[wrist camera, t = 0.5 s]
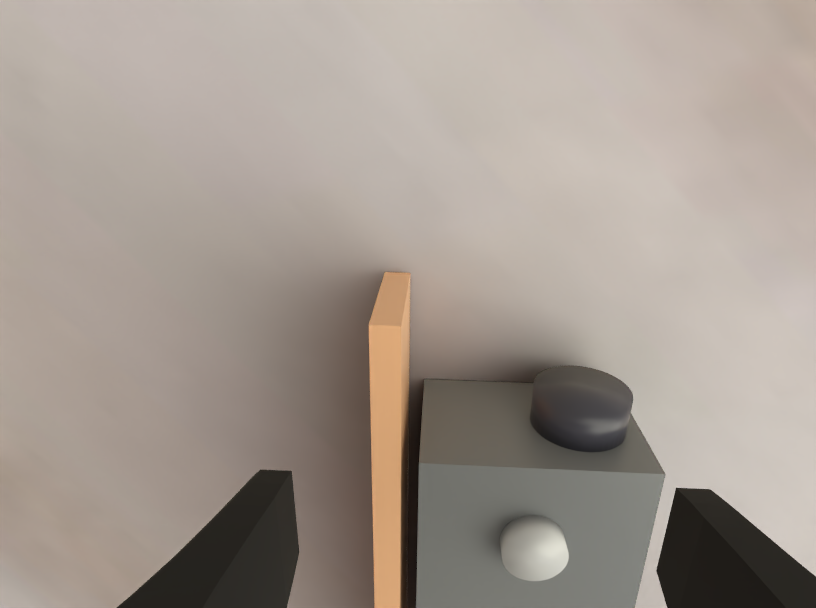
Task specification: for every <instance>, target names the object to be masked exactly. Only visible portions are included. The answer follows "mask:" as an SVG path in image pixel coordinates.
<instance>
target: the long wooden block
mask: <svg viewBox="0 0 816 608" xmlns="http://www.w3.org/2000/svg"><path fill="white" fill-rule="evenodd" d="M409 357H410V273H397V272H385V273H384V276H383V280H382V283H381V286H380V290H379V293H378V296H377V299H376V303H375V306H374V309H373V312H372V316H371V319H370V322H369V365H370V412H371V460H372V507H373V555H374V602H375V608H407V552H408V454H409Z"/></svg>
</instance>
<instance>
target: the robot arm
mask: <svg viewBox="0 0 816 608" xmlns="http://www.w3.org/2000/svg"><path fill="white" fill-rule="evenodd" d="M298 555H299V545H298V534H297V523H296V513H295V502H294V491H293V481H292V471H278V470H260V471H259V472H257V473H256V474H255V475H254V476H253V477H252V478H251V479H250V480H249V481H248V482H247V483H246V484H245V486H244V487H243V488H242V489H241V490H240V491H239V492H238V493H237V494H236V495H235V496H234V497H233V498H232V499H231V500H230V501H229V502H228V503H227V504H226V505H225V506H224V508H223V509H222V510H221V511H220V512H219V513H218V514H217V515H216V516H215V517H214V518H213V519H212V520H211V521H210V522H209V523H208V524H207V525H206V526H205V527H204V528H203V529H202V530H201V531H200V532H199V533H198V534H197V535H196V536H195V537H194V538H193V539H192V540H191V541H190V542H189V543H188V544H187V545H186V546H185V547H184V548H183V549H182V550H181V551H179V552H178V553H177V554H176V555H175V556H174V557H173V558H172V559H171V560H170V561H169V562H168V563H167V564H166V565H164V566H163V567H162V568H161V569H160V570H159V571H158V572H157V573H156V574H155V575H153V576H152V577H151V578H150V579H149V580H148V581H147V582H146V583H145V584H143V585H142V586H141V587H140V588H139V589H138V590H137V591H136V592H135V593H133V594H132V595H131V596H130V597H129V598H128V599H127V600H125V601H124V602H123V603H122V604H121V605H119V606H118V607H117V608H287V604H288V600H289V596H290V591H291V587H292V583H293V578H294V574H295V569H296V564H297V560H298ZM657 574H658V577H659V581H660V584H661V588H662V591H663V594H664V598H665V601H666V605H667V608H816V577H815V576H814V575H813V574H812V573H811V572H809V571H808V570H807V569H806V568H804V567H803V566H802V565H801V564H800V563H798V562H797V561H796V560H795V559H794V558H792V557H791V556H790V555H789V554H787V553H786V552H785V551H784V550H783V549H781V548H780V547H779V546H778V545H777V544H776V543H774V542H773V541H772V540H771V539H770V538H768V537H767V536H766V535H765V534H764V533H763V532H761V531H760V530H759V529H758V528H757V527H755V526H754V525H753V524H752V523H751V522H749V521H748V520H747V519H746V518H745V517H744V516H742V515H741V514H740V513H739V512H738V511H736V510H735V509H734V508H733V507H732V506H730V505H729V504H728V503H727V502H725V501H724V500H723V499H722V498H721V497H719V496H718V495H717V494H715V493H714V492H713V491H712V490H710V489H688V488H676V491H675V495H674V499H673V504H672V508H671V512H670V516H669V520H668V525H667V529H666V533H665V537H664V541H663V546H662V550H661V554H660V558H659V562H658V566H657Z"/></svg>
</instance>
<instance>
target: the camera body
mask: <svg viewBox="0 0 816 608" xmlns="http://www.w3.org/2000/svg"><path fill="white" fill-rule="evenodd" d="M632 403H633V394H632V392H631V390H630V389H629V387H628V386H627V385H626V384H624V383H623V382H622V381H621V380H619V379H618V378H616V377H614V376H612V375H610V374H608V373H605V372H602V371H599V370H596V369H592V368H587V367H580V366H558V367H552V368H549V369H546V370H544V371H542V372H540V373H539V374H538V375H537V376H536V377H535V379H534V383H518V382H491V381H465V380H438V379H424V392H423V407H422V423H421V439H420V455H419V487H418V539H417V591H416V608H635V604H636V599H637V595H638V591H639V586H640V582H641V578H642V573H643V569H644V565H645V560H646V556H647V552H648V547H649V543H650V539H651V534H652V530H653V526H654V521H655V517H656V513H657V508H658V504H659V500H660V495H661V491H662V487H663V482H664V478H665V473H664V471H663V469H662V467H661V466H660V464H659V462H658V460H657V459H656V457H655V455H654V453H653V452H652V450H651V448H650V446H649V444H648V443H647V441H646V439H645V437H644V436H643V434H642V432H641V430H640V429H639V427H638V425H637V423H636V421H635V420H634V418H633V416H632V414H631V408H632Z"/></svg>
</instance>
